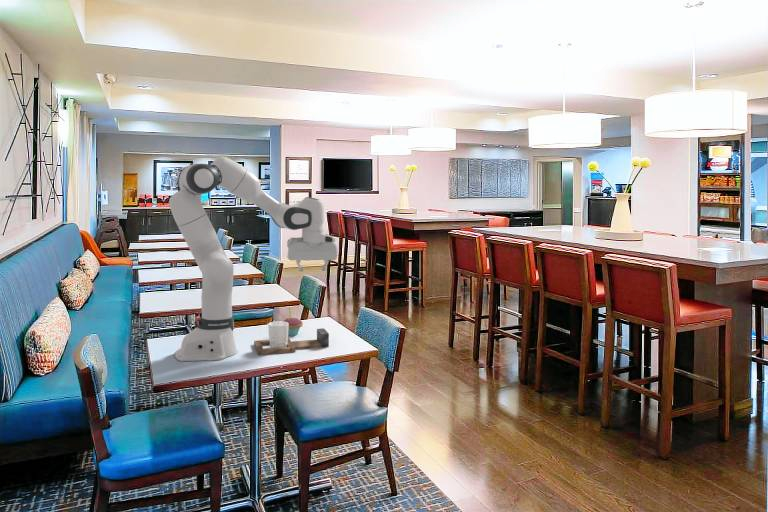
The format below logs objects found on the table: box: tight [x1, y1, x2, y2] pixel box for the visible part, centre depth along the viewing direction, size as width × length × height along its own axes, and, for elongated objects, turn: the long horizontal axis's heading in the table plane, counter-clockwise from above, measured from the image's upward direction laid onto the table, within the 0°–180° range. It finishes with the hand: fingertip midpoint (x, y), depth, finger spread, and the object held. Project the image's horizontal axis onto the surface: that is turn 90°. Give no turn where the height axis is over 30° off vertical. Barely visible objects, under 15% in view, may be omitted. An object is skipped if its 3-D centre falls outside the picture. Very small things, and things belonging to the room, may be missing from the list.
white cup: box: [267, 320, 289, 349], centre depth 227 cm, size 8×8×10 cm
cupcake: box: [283, 305, 303, 337], centre depth 247 cm, size 9×8×12 cm
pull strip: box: [253, 327, 330, 356], centre depth 230 cm, size 28×14×6 cm, turn 109°
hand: (312, 270), depth 237 cm, fingers open, 8 cm apart
